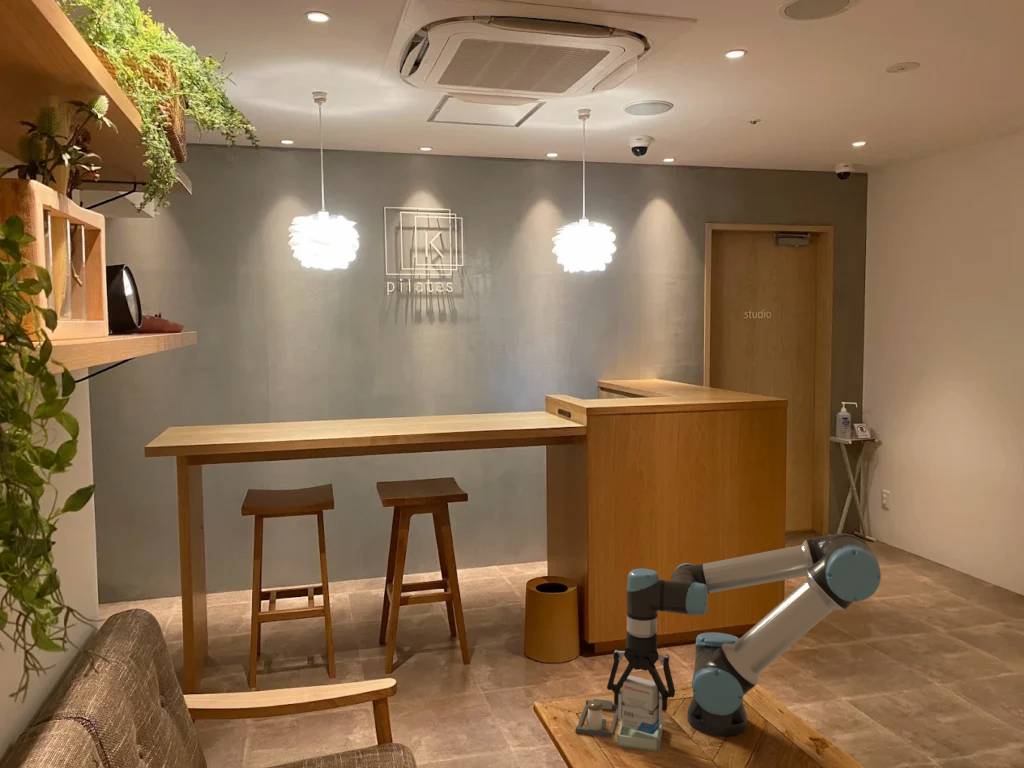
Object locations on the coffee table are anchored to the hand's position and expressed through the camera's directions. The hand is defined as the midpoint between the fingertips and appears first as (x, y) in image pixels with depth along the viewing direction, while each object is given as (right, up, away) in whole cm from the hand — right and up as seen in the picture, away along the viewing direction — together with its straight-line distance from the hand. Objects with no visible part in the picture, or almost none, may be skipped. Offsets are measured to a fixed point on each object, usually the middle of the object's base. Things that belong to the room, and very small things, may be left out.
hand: (640, 719), depth 206 cm
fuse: (-11, -4, +3) cm, 12 cm away
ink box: (0, -2, 0) cm, 2 cm away
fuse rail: (-9, -4, +9) cm, 14 cm away
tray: (0, -5, 0) cm, 5 cm away
